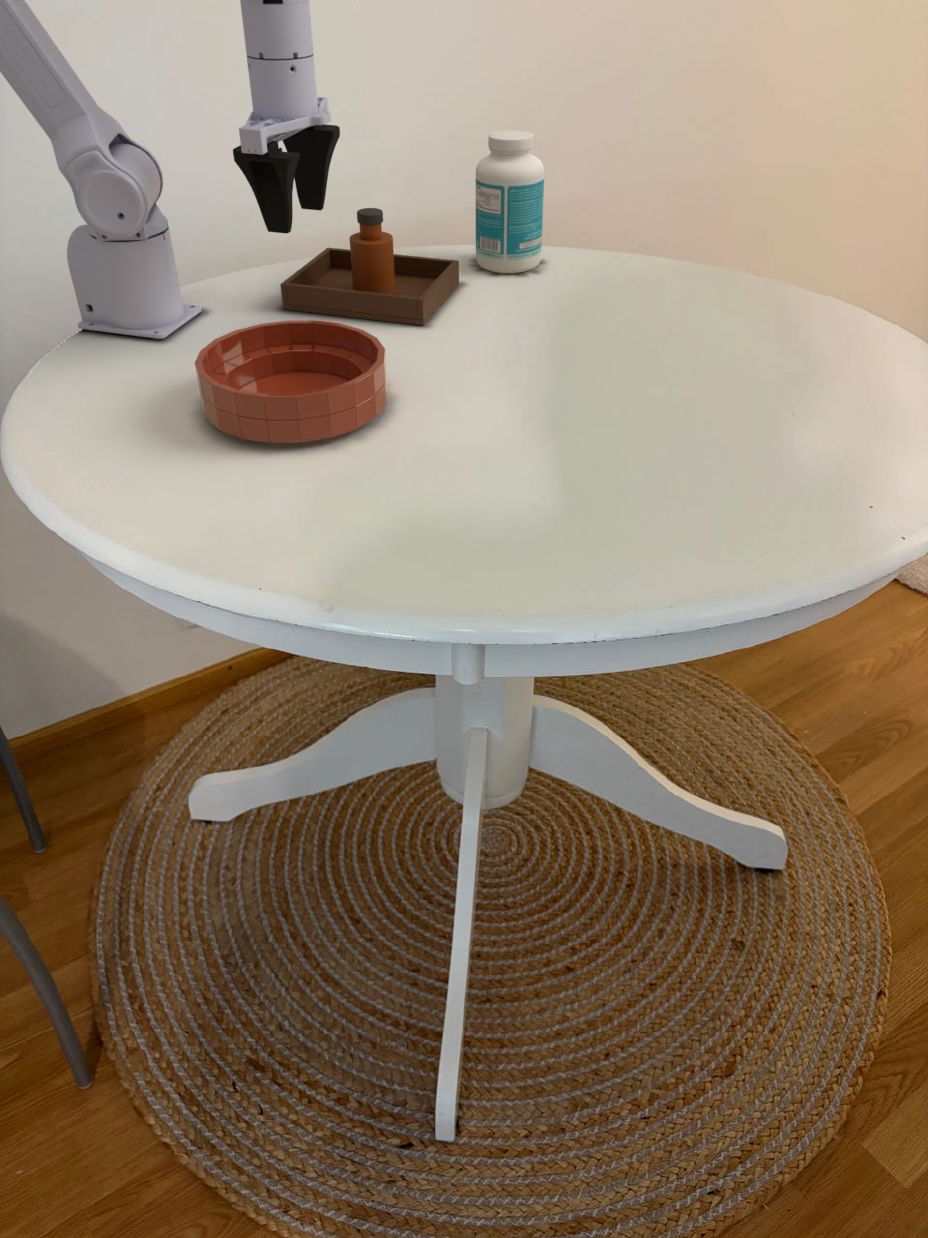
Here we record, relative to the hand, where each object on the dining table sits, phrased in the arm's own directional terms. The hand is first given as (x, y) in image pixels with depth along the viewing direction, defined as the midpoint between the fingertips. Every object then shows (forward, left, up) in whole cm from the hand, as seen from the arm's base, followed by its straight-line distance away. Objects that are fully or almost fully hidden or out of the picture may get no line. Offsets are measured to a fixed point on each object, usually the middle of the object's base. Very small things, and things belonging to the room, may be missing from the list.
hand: (296, 219), depth 90 cm
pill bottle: (+16, +21, -10) cm, 28 cm away
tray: (+5, +7, -9) cm, 13 cm away
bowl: (+8, -19, -9) cm, 22 cm away
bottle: (+5, +7, -9) cm, 12 cm away
